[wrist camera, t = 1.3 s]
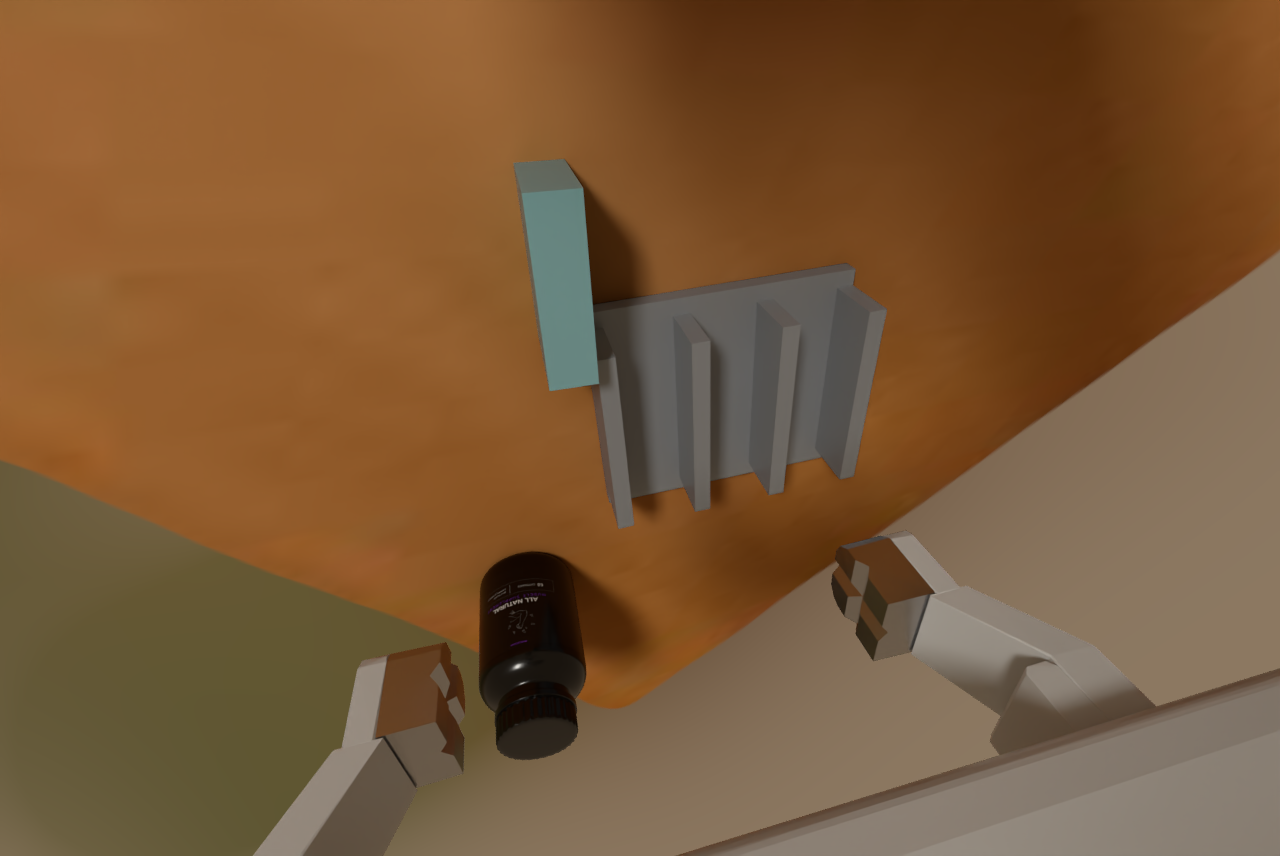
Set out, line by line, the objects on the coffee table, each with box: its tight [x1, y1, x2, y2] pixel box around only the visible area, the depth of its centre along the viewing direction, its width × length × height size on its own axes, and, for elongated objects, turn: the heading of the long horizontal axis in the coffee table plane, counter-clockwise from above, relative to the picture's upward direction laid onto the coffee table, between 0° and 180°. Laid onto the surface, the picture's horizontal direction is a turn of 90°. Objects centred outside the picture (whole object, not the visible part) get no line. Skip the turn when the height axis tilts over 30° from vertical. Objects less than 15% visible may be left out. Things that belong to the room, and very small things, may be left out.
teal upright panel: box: [513, 159, 599, 391], centre depth 27 cm, size 9×2×6 cm, turn 2°
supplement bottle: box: [479, 552, 586, 760], centre depth 38 cm, size 7×7×12 cm
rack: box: [592, 263, 887, 529], centre depth 35 cm, size 14×16×4 cm
